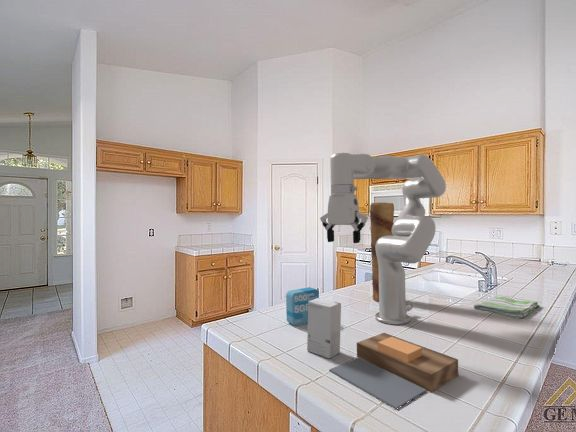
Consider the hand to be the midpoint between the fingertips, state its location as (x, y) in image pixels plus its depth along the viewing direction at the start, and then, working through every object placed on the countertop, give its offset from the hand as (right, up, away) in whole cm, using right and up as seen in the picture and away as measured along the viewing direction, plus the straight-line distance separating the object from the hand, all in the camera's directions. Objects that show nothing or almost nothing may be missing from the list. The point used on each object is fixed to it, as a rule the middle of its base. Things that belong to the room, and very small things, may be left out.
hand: (343, 242), depth 104 cm
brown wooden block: (+12, -31, -22) cm, 40 cm away
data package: (-13, -31, +13) cm, 36 cm away
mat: (+2, -31, -29) cm, 42 cm away
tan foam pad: (+10, -27, -23) cm, 37 cm away
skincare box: (-8, -31, -13) cm, 35 cm away
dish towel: (+72, -30, +25) cm, 82 cm away
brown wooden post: (+26, -30, +40) cm, 57 cm away
